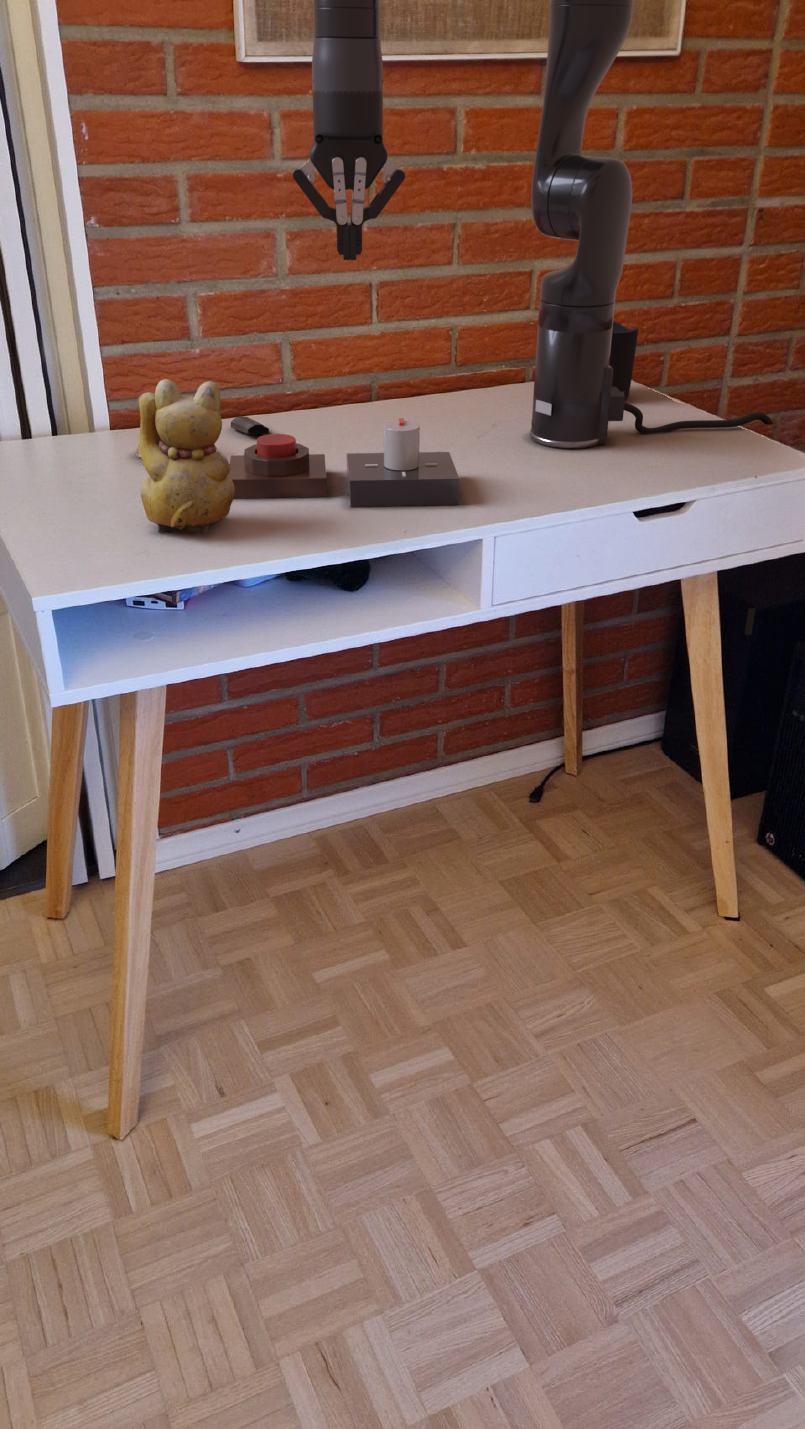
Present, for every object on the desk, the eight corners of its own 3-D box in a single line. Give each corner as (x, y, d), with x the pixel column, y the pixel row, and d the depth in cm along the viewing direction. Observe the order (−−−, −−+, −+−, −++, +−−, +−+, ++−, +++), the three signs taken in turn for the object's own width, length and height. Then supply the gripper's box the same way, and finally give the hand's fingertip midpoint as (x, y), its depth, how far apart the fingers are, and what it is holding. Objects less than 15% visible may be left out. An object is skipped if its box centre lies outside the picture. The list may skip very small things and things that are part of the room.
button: (296, 448, 136) (295, 433, 135) (296, 460, 132) (295, 444, 132) (257, 449, 136) (257, 434, 135) (256, 460, 132) (255, 445, 131)
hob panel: (448, 476, 139) (449, 450, 138) (458, 505, 130) (459, 477, 129) (346, 478, 138) (346, 452, 137) (350, 507, 130) (349, 479, 128)
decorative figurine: (236, 513, 128) (228, 372, 120) (236, 540, 121) (227, 392, 113) (146, 515, 127) (131, 374, 119) (140, 543, 119) (124, 395, 112)
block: (247, 440, 151) (247, 426, 150) (228, 429, 156) (227, 415, 155) (273, 436, 153) (272, 422, 152) (252, 425, 157) (252, 411, 157)
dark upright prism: (564, 403, 168) (570, 331, 164) (567, 387, 177) (572, 318, 172) (631, 407, 167) (638, 334, 162) (631, 390, 175) (638, 321, 170)
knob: (420, 470, 131) (420, 428, 129) (384, 470, 131) (384, 428, 129) (418, 459, 135) (418, 418, 132) (383, 460, 135) (383, 418, 132)
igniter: (325, 472, 140) (324, 439, 138) (326, 497, 132) (326, 462, 130) (231, 473, 139) (229, 440, 138) (228, 498, 132) (225, 463, 130)
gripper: (285, 88, 122) (291, 264, 131) (412, 88, 123) (410, 264, 132) (285, 86, 129) (291, 254, 137) (406, 86, 130) (404, 254, 138)
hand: (349, 259), depth 134 cm, fingers closed
